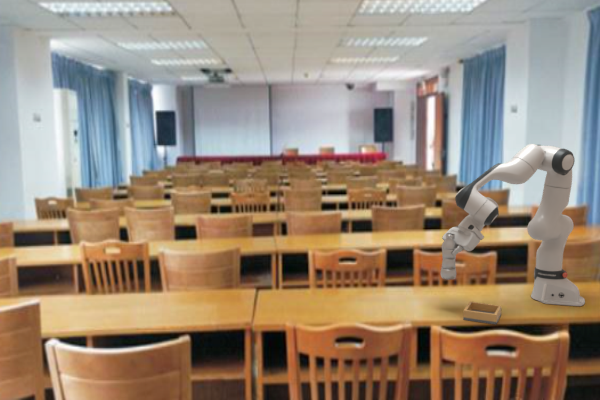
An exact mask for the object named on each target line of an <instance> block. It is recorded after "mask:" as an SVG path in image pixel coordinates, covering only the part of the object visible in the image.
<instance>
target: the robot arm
mask: <svg viewBox="0 0 600 400" xmlns="http://www.w3.org/2000/svg"><path fill="white" fill-rule="evenodd" d="M574 164H575V156H574V153H573V152H572V151H570V150H569V149H568V148H567V149H566V148H561V147H558V146H554V145H542V144H535V143H528V144H526V145H525V146H524V147H522V148H521V149H520V150H519V151H518V152H516V154H515V155H514V156H513V157H512V158H511V159H510V160H508V161H506V162H504V163H501V162H498V163H496V164H494V165H493V166H491V167H490V168H489V169H487V170H486V171H484V172H483V173H482V174H481V175H479V176H478V177H476V179H474V180H472V182H470V183H469V184H467V185H466V186H464V187H463V188H461V189H460V190H459V191H458V192H457V193H456V195H455V197H454V199H455V203H456V206H457V207H458V208H459V209H461V210H464V211H465V212H466V213H467V216H465V217H464V218H463V219H462V220H461V222H459V224H458V225H456V226H453V227H451V228H449V230H447V231H446V232H445V233H444V234H443V236H442V237H441V239H442V241H443V242H444V241H445V240H446V238H445V237H446V233H452V234H455V239H454V241H455V243H456V244H457V248H456V249H455V250H453V251H452V252H451V254H452V255H454V256H455V255H456V256H457V254H458V253H460V252H463V250H464V251H467V252H471V251H473V250H474V249H475V248H476V247H477V246H478V245H479V243H480V241H482V240H483V239H484V238H485V236H484V234H483V233H482V231H483V229H484V227H485V226H490V225H492V223H493V222H494V220H495V219H497V218H498V217H499V212H500V211H499V209H500V207H499V204H498V202H496V200H494V198H491V197H489V196H487V197H486V196H484V195H483V194H482V193H480V191H479V190H480V189H481V188H483V187H484V186H485V185H486V184H488V183H489V182H491V181H501V182H504V183H507V184H510V185H521V184H525V183H526V182H528V181H529V180H530V179H531V178H532V177H533V175H534V174H535V173H536V172H537V171H538V170H540V171H543V172H546V175H545V177H544V178H545V179H544V184H543V189H542V195H541V200H540V202H539V206H538V208H537V210H536V212H535V215H534V216H533V217H532V219H531V220H530V221H529V222H528V225H527V229H526V230H527V233H528V235H529V237H531V239H532V240H536V241H541V243H540V245H539V247H538V248H537V250H536V257H535V267H534V271H533V272H534V273H533V278H534V283H533V289H532V291H531V293H530V294H531V295H530V297H531V298H532V299H533V300H536V301H538V302H540V303H542V304H547V305H557V306H569V307H571V306H572V307H573V306H574V307H581V306H584V305H585V303H586V300H585V298H584V297H583V296H581V295H580V289H579V288H578V286H577V285H576V284H575V283H574V282H572V281H571V280H570V279H568V278H567V277H568V271H567V270H566V269H563V261H564V251H565V247H566V244H567V241H568V239H569V236H570V234H572V231H573V230H574V222H573V220H572V218H571V216H568V215H566V214H563V212H564V211H565V209H566V208H567V206H568V205H569V202H570V196H571V190H572V184H573V183H572V182H573V167H574V166H575V165H574Z"/></svg>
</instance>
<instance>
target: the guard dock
mask: <svg viewBox="0 0 600 400" xmlns="http://www.w3.org/2000/svg"><path fill="white" fill-rule="evenodd" d="M462 313H463V315H462V316H463V317H462V319H463V320H464V321H470V322H476V323H477V322H478V323H485V324H491V325H497V324H498V322H499V320H500V318H501V316H502V305H498V304H489V303H482V302H474V301H469V302H468V304H466V306H465V307H464V309H463V312H462Z"/></svg>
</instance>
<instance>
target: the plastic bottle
mask: <svg viewBox="0 0 600 400" xmlns="http://www.w3.org/2000/svg"><path fill="white" fill-rule="evenodd" d="M445 233H446V232H445ZM445 238H446V240H445V241H444V240H443V242H442V244H441V252H442V253H441V254H442V262H441V268H440V277H441V279H444V280H455V279H456V278H457V268H456V257H457V254H456V255H455V256H454V255H452V254H451V252H452V251H453V250H455V249H456V248H457V244H456V243H455V241H454V239H455V234H452V233H446V237H445Z"/></svg>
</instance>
